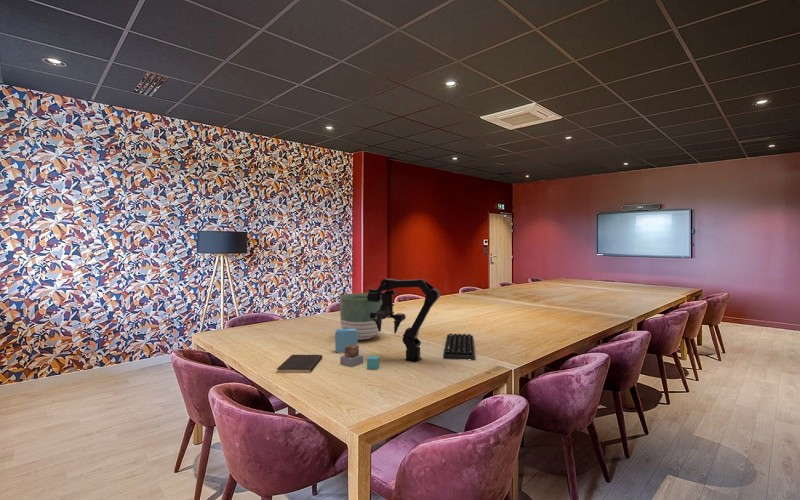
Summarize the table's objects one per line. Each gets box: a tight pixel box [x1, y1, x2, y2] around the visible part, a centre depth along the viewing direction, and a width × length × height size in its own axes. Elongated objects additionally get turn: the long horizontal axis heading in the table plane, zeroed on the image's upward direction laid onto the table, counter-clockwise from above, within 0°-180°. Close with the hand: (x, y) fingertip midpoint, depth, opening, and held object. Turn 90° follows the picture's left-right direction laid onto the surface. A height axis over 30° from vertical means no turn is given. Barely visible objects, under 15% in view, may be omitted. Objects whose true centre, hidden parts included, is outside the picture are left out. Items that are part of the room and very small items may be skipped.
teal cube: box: [366, 355, 380, 370], centre depth 185 cm, size 5×5×5 cm
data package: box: [334, 328, 359, 354], centre depth 214 cm, size 12×4×12 cm, turn 100°
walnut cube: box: [344, 344, 360, 358], centre depth 192 cm, size 5×5×5 cm
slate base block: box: [339, 354, 364, 368], centre depth 192 cm, size 8×8×4 cm
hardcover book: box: [276, 354, 323, 374], centre depth 190 cm, size 16×23×2 cm
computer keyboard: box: [442, 332, 476, 361], centre depth 220 cm, size 45×16×4 cm, turn 170°
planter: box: [339, 292, 383, 341], centre depth 242 cm, size 27×27×27 cm
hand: (387, 332), depth 202 cm, fingers open, 9 cm apart
